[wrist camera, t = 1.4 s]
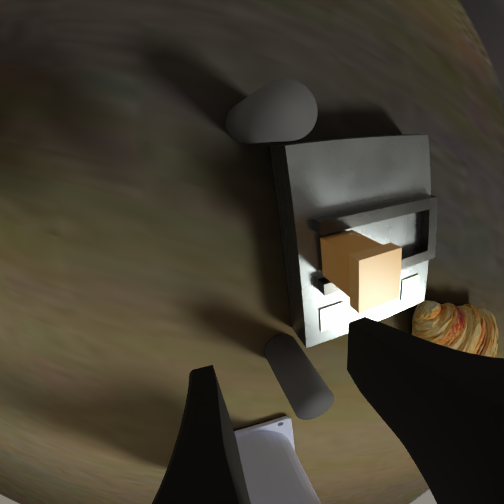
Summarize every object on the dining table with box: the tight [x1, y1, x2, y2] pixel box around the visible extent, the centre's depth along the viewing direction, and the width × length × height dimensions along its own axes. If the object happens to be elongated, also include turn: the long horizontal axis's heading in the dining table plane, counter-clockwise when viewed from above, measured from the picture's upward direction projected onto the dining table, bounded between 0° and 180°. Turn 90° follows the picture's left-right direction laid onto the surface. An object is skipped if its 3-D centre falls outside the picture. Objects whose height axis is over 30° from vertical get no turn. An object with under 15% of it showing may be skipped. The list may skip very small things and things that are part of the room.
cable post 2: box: [264, 334, 334, 420], centre depth 18 cm, size 2×2×6 cm
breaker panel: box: [269, 134, 437, 348], centre depth 18 cm, size 10×12×3 cm
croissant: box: [411, 300, 498, 357], centre depth 25 cm, size 21×10×8 cm, turn 52°
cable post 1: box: [226, 79, 318, 144], centre depth 13 cm, size 2×2×6 cm
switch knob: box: [320, 230, 402, 314], centre depth 15 cm, size 2×3×4 cm
